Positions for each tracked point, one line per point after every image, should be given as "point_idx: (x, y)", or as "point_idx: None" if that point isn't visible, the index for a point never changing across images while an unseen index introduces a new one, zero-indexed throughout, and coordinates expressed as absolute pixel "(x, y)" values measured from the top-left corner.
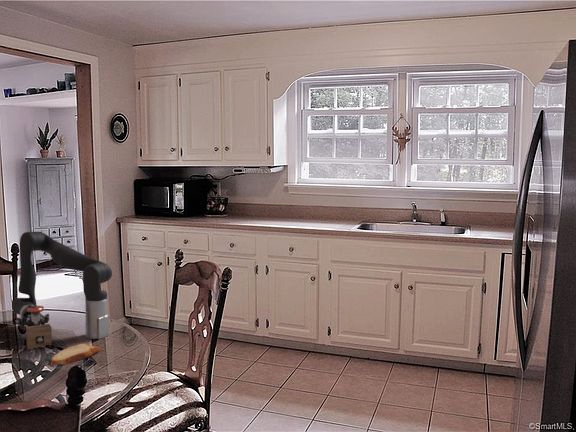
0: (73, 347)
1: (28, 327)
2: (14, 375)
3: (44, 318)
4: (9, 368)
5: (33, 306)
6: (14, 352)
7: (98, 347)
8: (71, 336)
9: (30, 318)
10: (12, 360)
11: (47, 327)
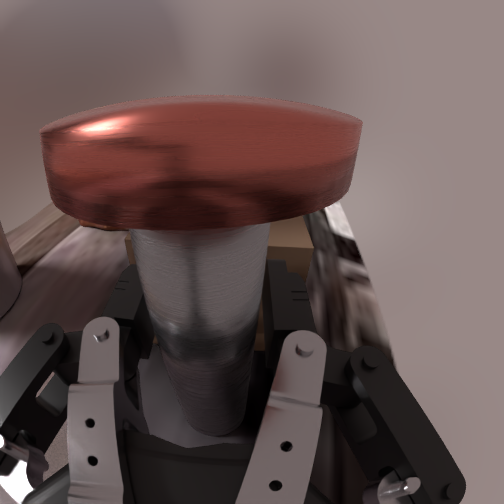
0: None
1: (294, 234)
2: None
3: (41, 456)
4: (332, 211)
5: (196, 112)
6: (339, 296)
7: None
8: None
9: (250, 456)
10: (334, 241)
11: None
